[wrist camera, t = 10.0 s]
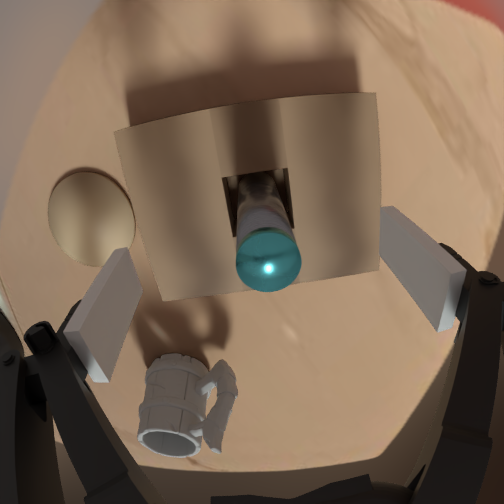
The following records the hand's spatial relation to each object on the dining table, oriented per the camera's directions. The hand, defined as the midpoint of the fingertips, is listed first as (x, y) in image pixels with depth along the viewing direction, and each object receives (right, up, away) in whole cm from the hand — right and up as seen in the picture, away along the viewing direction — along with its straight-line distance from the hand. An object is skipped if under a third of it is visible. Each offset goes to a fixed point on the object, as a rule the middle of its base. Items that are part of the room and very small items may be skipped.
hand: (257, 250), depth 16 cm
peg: (0, +5, +9) cm, 11 cm away
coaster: (-15, +3, +10) cm, 18 cm away
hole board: (0, +5, +9) cm, 11 cm away
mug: (-7, -13, +19) cm, 24 cm away
